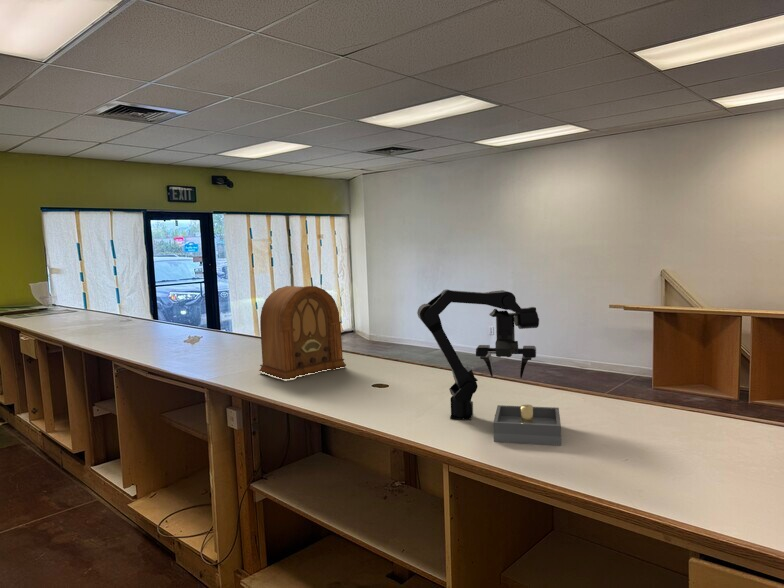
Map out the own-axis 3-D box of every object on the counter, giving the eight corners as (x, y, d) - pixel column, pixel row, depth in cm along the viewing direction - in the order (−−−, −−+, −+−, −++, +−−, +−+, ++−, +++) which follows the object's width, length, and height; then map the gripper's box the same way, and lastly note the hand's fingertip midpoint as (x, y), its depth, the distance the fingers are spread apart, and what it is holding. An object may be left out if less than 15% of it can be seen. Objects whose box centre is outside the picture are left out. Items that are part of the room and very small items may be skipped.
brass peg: (521, 435, 149) (520, 407, 148) (521, 430, 152) (520, 404, 152) (533, 435, 148) (532, 408, 148) (533, 431, 151) (532, 404, 151)
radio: (285, 382, 222) (279, 289, 219) (259, 374, 239) (253, 288, 236) (346, 367, 244) (341, 283, 241) (318, 361, 261) (313, 282, 258)
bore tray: (493, 441, 145) (493, 422, 145) (498, 422, 160) (497, 405, 160) (561, 445, 140) (560, 425, 140) (559, 425, 155) (558, 407, 155)
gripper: (472, 333, 161) (473, 382, 163) (534, 334, 156) (535, 385, 157) (477, 328, 172) (479, 374, 173) (535, 328, 166) (536, 375, 168)
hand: (506, 377), depth 168 cm, fingers open, 9 cm apart
